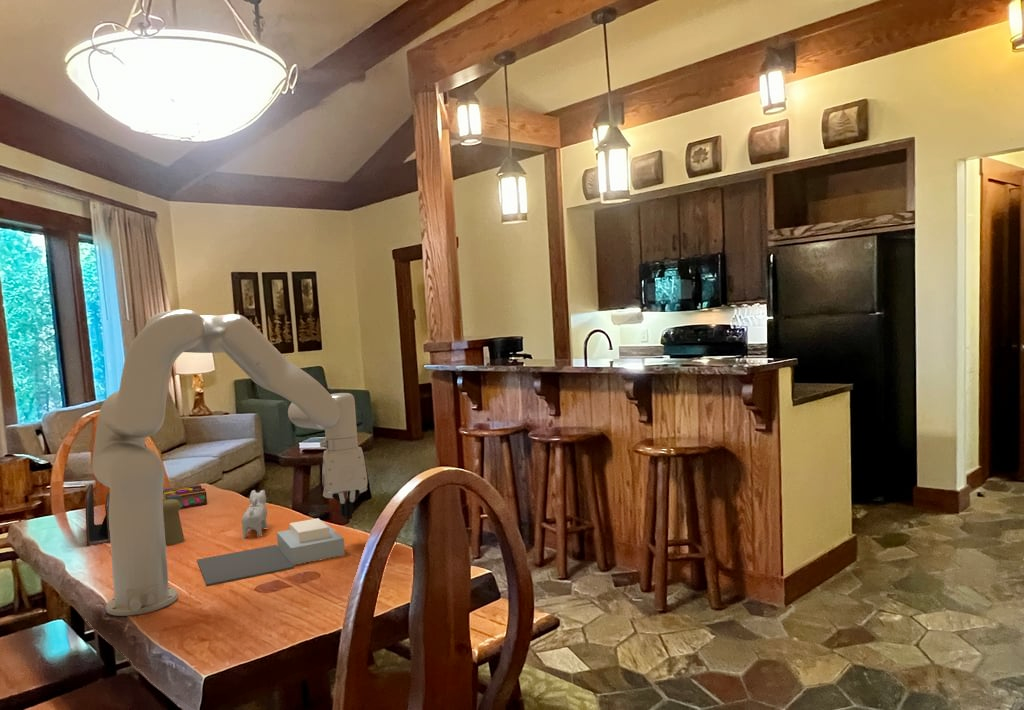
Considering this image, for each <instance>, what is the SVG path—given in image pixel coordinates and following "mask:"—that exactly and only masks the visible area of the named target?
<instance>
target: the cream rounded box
mask: <svg viewBox="0 0 1024 710" xmlns="http://www.w3.org/2000/svg"><path fill="white" fill-rule="evenodd" d="M325 523H326V522H324V521H323V520H321V519H320V518H319V517H318V518H312V519H305V520H300V521H295V522H290V523H289V530H290V534H291V535H292V536H293V537H294V538H295V539H296V540H297V541H298V542H299V543H302V542H307V541H312V540H318V539H323V538H328V537H330V535H329V527H328V526H329V525H328V524H327V523H326V524H327V525H328V526H327V525H326V524H325Z"/></svg>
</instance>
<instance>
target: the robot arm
mask: <svg viewBox="0 0 1024 710" xmlns="http://www.w3.org/2000/svg"><path fill="white" fill-rule="evenodd" d="M184 353H194V354H201V353H202V354H219V353H220V354H221V353H222V354H225V355H226V356H227V357H229V359H231V360H232V361H233V362H234V363H235V364H236V365H237V366H238V367H239V368H240V369H241V371H242V372H244V374H246V375H247V377H248V378H250V379H251V380H252V382H254V383H255V385H258V386H260V387H261V388H262V389H265V390H267V391H269V392H272V393H274V394H277V395H278V396H281V397H283V398H285V399H286V400H288V401H289V402H290V405H289V406H288V410H287V414H288V415H287V417H288V419H289V421H290V422H291V423H292V424H294V426H296V427H299V428H302V429H313V430H314V429H315V430H322V431H323V430H324V435H325V438H324V440H323V441H320V442H319V447H320V448H324V449H325V450H324V451H323V456H322V469H321V470H322V473H321V474H322V475H321V477H322V478H321V479H322V488H323V493H322V496H323V498H325V499H334V500H336V501H337V502H338V505H339V515H340V516H341V517H342V518H343V519H344V520H345V521H348V520H352V519H353V515H354V514H355V510H354V502H355V500H356V498H357V497H358V496H359V494H362V493H364V492H366V491H367V490H368V475H367V473H368V472H367V466H366V462H365V460H366V459H365V457H364V451H363V449H362V447H361V446H359V445H358V431H357V429H358V427H357V415H356V403H355V402H356V401H355V396H354V395H353V394H352V393H350V392H338V393H330V392H329V391H328V390H327V389H326V387H324V386H323V385H322V384H321V383H320V382H319V381H317V380H316V379H315V378H314V377H313V376H311V375H310V374H309V373H307V372H306V371H305V370H303V369H302V368H300V367H299V366H297V365H296V364H295V363H293V362H291V361H290V360H289V359H287V358H286V357H285V356H284V355H283V354H282V353H281V352H280V351H279V350H278V349H277V348H276V347H275V346H274V345H273V343H271V342H270V340H269V339H268V338H267V337H266V336H265V335H264V334H263V333H262V332H261V331H260V330H259V329H258V328H257V327H256V326H255V325H254V324H253V323H252V322H251V321H250V320H249V319H248V318H247V317H245V316H244V315H241V314H239V313H227V314H221V315H220V314H219V315H204V314H203V315H200V314H199V313H198V312H196V311H194V310H191V309H186V308H185V309H184V308H183V309H181V308H179V309H173V310H168V311H162V312H158V313H155V314H153V315H152V316H151V317H150V318H149V319H148V320H147V321H146V323H145V325H144V328H142V329H141V331H140V332H139V333H137V335H136V336H135V338H134V339H133V340H132V341H131V343H130V346H129V347H128V350H127V353H126V354H125V358H124V363H123V368H122V374H121V378H120V383H119V389H118V390H117V391H114V392H113V393H112V394H110V395H108V397H106V399H105V400H104V401H103V403H102V404H101V407H100V409H99V413H98V417H97V422H96V423H97V424H96V429H95V436H94V437H95V438H94V444H93V451H92V452H93V453H92V464H91V465H92V473H93V475H94V477H95V479H96V480H97V481H98V482H99V483H100V484H101V485H103V486H105V487H107V488H109V492H110V499H109V530H110V542H111V543H110V552H111V554H110V555H111V567H112V568H111V569H112V581H113V595H114V597H113V598H112V599H110V600H109V601H107V603H106V604H105V611H106V613H107V614H109V615H111V616H115V617H118V616H119V617H125V616H127V617H129V615H130V616H135V615H136V616H138V615H142V614H148V613H150V612H154V611H157V610H160V609H163V608H165V607H167V606H169V605H171V604H172V603H174V602H176V600H177V599H178V597H179V595H178V590H177V589H176V588H174V587H171V586H169V574H168V572H169V571H168V559H167V546H166V542H165V528H164V516H163V500H164V495H163V489H164V488H165V487H164V486H165V485H164V484H165V466H164V463H163V462H162V458H161V457H160V455H158V453H157V452H155V450H153V449H152V448H150V447H148V446H146V439H147V438H149V437H151V436H153V435H156V434H157V433H158V431H160V429H161V428H162V426H163V425H164V421H165V418H166V410H167V409H166V406H167V399H168V390H169V383H170V377H171V373H172V370H173V366H174V364H175V362H176V361H177V360H178V358H179V357H180V355H182V354H184ZM346 492H347V493H346ZM345 493H346V498H345Z"/></svg>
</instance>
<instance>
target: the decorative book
mask: <svg viewBox="0 0 1024 710" xmlns="http://www.w3.org/2000/svg"><path fill="white" fill-rule="evenodd" d="M169 499H176V500H178V501H179V502H180V508H182V509H184V508H190V506H191V507H196V506H202V504H203V505H207V504H208V498H207V491H206V488H204V487H203V488H202V485H198V484H193V485H189V486H188V485H187V486H181V487H176V488H175V487H172V488H163V501H165V500H169Z"/></svg>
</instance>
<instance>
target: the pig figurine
mask: <svg viewBox="0 0 1024 710" xmlns="http://www.w3.org/2000/svg"><path fill="white" fill-rule="evenodd" d="M248 499H249V506H248V508H247V509H246V511H245V512H244V513H243V515H242V517H241V526H242V528H241V529H242V539H247V538H246V537H248V536H247V535H248V532H252V531H251V530H254V531H256V537H257V536H261V535H262V536H263V533H262V530H263V529H264V528H268V529H269V527H268V523H267V518H268V509H267V506H266V503H267V495H266V491H265V489H261V490H259V492H257V491H256V489H253V490H251V492H250V495H249V498H248Z"/></svg>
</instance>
